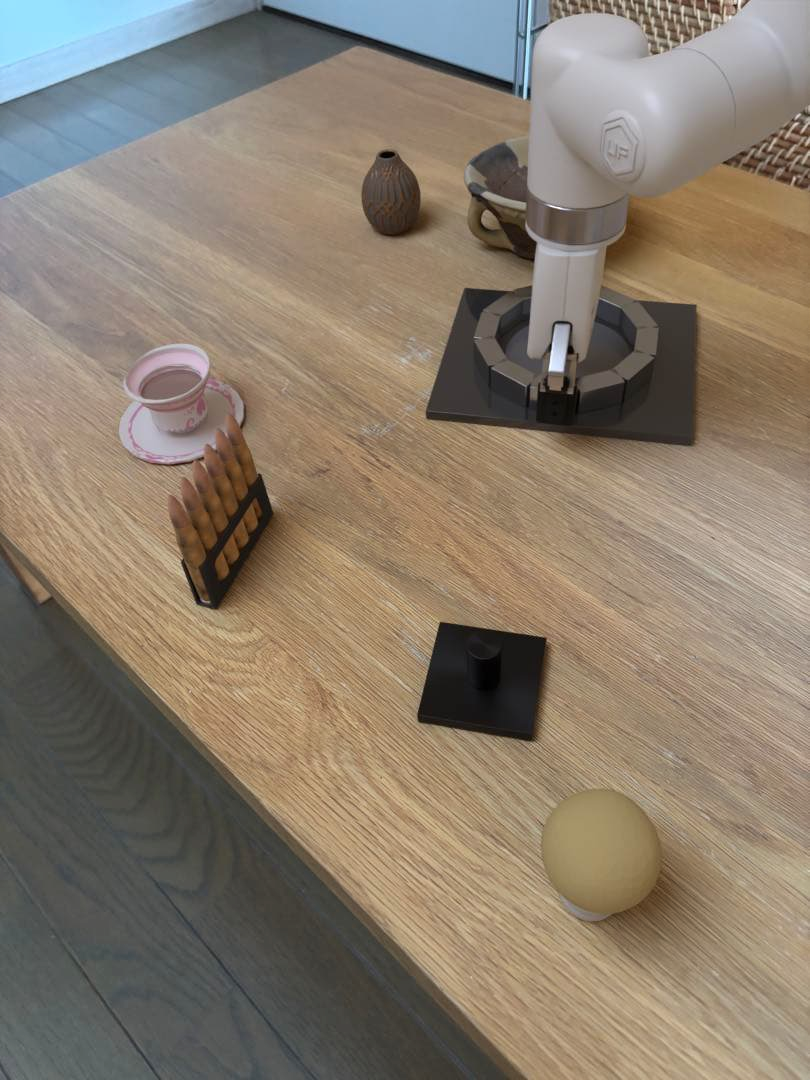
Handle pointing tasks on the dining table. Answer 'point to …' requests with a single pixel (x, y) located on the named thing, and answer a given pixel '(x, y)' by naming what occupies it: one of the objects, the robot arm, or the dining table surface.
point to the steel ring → (590, 388)
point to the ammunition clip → (219, 515)
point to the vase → (390, 194)
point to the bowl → (501, 195)
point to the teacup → (175, 405)
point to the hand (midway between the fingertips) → (560, 386)
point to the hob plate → (644, 416)
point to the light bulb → (600, 853)
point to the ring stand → (483, 681)
